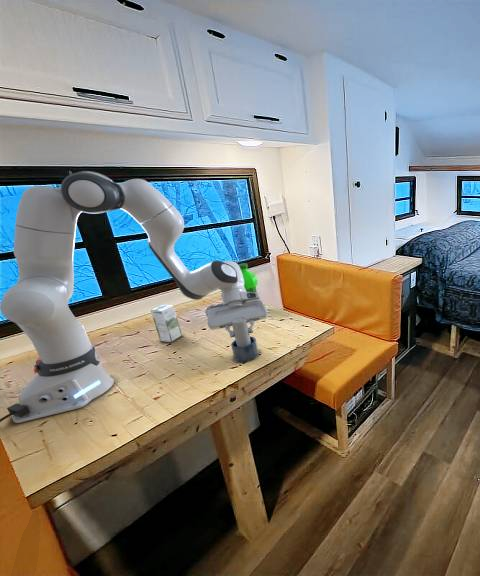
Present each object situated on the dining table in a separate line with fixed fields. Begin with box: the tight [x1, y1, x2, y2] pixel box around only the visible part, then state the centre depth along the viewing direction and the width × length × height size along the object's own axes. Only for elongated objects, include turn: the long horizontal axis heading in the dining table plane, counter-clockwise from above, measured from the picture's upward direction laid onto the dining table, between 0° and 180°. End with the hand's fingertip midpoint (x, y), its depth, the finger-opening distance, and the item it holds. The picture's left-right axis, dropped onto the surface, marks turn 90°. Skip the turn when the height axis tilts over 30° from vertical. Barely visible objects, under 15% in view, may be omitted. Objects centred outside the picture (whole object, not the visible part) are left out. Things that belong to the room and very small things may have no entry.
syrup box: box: [150, 304, 183, 343], centre depth 127 cm, size 6×6×14 cm
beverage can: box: [231, 317, 251, 347], centre depth 112 cm, size 5×5×12 cm
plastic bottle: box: [237, 262, 258, 293], centre depth 147 cm, size 10×10×25 cm
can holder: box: [230, 335, 259, 363], centre depth 114 cm, size 8×8×6 cm
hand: (241, 334), depth 111 cm, fingers closed on beverage can, 5 cm apart
